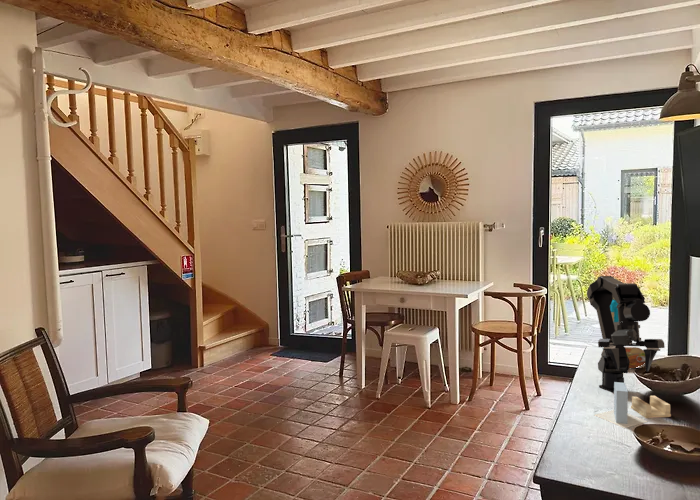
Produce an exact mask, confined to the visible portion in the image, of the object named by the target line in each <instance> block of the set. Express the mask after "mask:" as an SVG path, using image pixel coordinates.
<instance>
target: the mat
mask: <svg viewBox="0 0 700 500" xmlns="http://www.w3.org/2000/svg"><path fill="white" fill-rule="evenodd" d="M594 416H595V417H598V418H600V419H602V420H604V421H606V422H610V423H612V424H614V425H616V426H619V427H620V428H623V429H626V428H630V427H634V426H638V425H642V424H644V423H648V422H649V421H647V420H645V419H643V418H640V417H637V416H635V415H633V414H630V413H629V412H627V424H623V423H616V420H615V415H614V409H612V410H608V411H605V412H601V413H597V414H594Z"/></svg>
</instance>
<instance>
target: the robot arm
mask: <svg viewBox="0 0 700 500" xmlns="http://www.w3.org/2000/svg"><path fill="white" fill-rule="evenodd" d="M586 297H587V299H588V300H589V301H588V302H589V303H590V305H591V307H592V308H594V310H595V311H596V314H597V318H598V323H599V329H600V333H601V337H602V338H599V340H598V341H597V344H598V346H597V347H598V348H602V351H601V355H600V356H601V357H600V359H599V361H598V362H597V368H598V370H599V372H600V373H602V375H601V384H599V385H598V387H599V388H601V389H603V390H606V391H609V392H611V393H614V382H621V383H625V377H624V374H628V372H629V370H630V369H629V364H630V360H629V358H628V356H627V354H626V349H625V347H645V348H646V349H645V348H644V349H642V350H644V353H645V367H644V368H645V371H646V372H650V369H651V366H652V363H653V362H654V358H655V356H656V354H657V353H658V352H659V351H661V349H666V348H665V341H664V340H663V339H662V338H654V339H653V338H644V340H642V337H640V328H641V324H639V322H645V321H647V320H648V319H649V317H650V316H651V310H650V308H649V306H648V305H647V304H645V303H646V301H645V299H646V298H645V297H644V294H643V292H642V291H641V289H640V287H639V286H638V285H637V284H636V283H629V282H627V283H626V282H625V283H624V282H622V281H621V280H618V279H616V278H615V277H614V276H612V275H600V276H598V277H597V279H596V280H595V281H593V282H592V283H590V284H589V286H588V287H587V290H586ZM613 298H614V299H615V300H616V302H617V303H618V305H617V308H618V319H619V325H617V331H615V327H614V322H613V318H612V314H611V309H610V305H611V303H612V300H613Z"/></svg>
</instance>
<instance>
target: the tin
mask: <svg viewBox="0 0 700 500" xmlns="http://www.w3.org/2000/svg"><path fill="white" fill-rule="evenodd" d="M624 347H625V349H626V354H627V356H628V358H629V360H630V364H629V368H636V367H638V366H641V365H643V364H644V363H645V353H644V350H643V349H642V348H640V347H638V346H624Z"/></svg>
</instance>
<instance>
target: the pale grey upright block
mask: <svg viewBox="0 0 700 500" xmlns="http://www.w3.org/2000/svg"><path fill="white" fill-rule="evenodd" d="M628 391H629V390H628V389H627V385H626V382H624V383H621V382H614V392H613V410H614V415H615V420H616V423H623V424H627V413H629V412H628V409H629V408H628V407H629V405H628V403H629V400H628V399H629V392H628Z"/></svg>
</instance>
